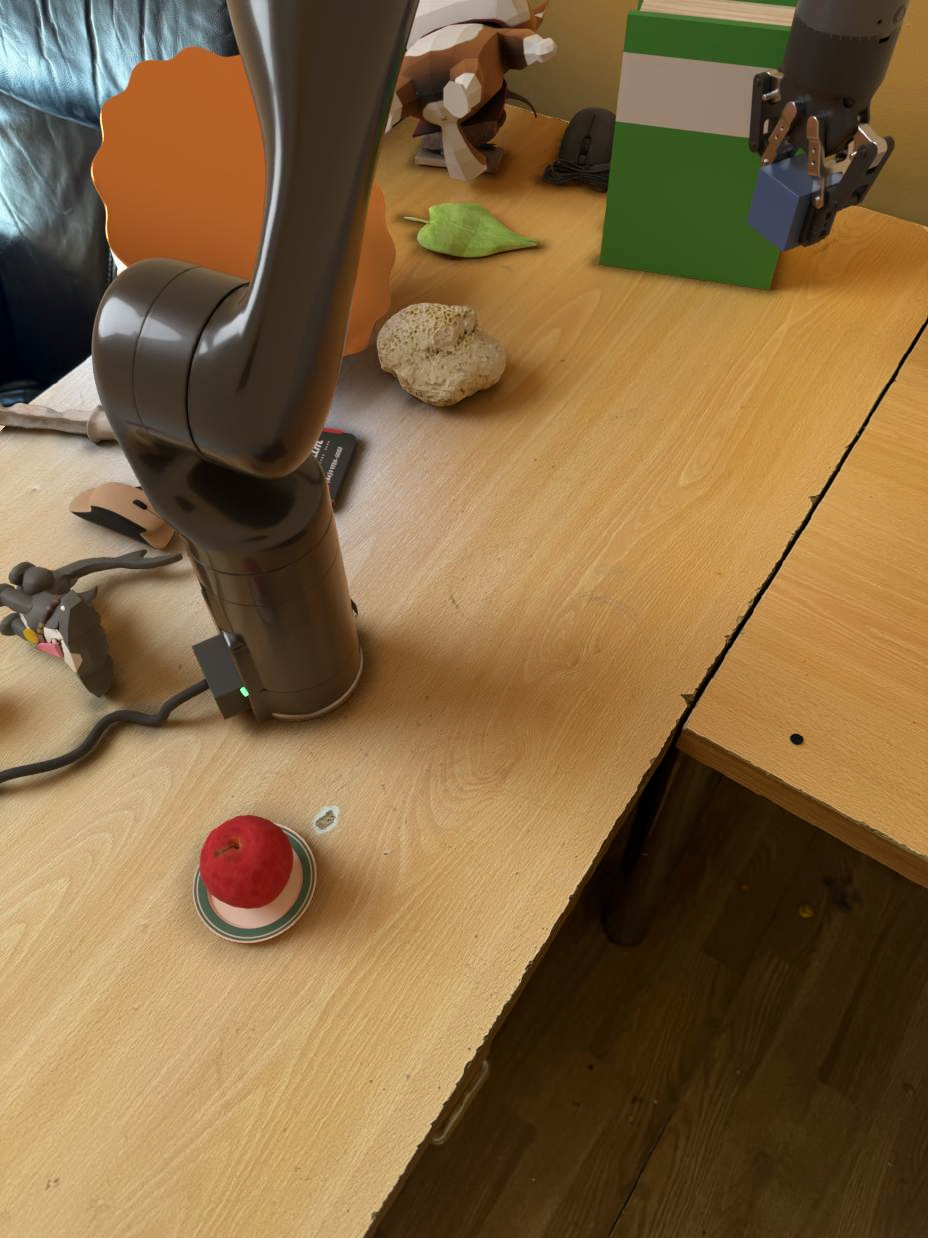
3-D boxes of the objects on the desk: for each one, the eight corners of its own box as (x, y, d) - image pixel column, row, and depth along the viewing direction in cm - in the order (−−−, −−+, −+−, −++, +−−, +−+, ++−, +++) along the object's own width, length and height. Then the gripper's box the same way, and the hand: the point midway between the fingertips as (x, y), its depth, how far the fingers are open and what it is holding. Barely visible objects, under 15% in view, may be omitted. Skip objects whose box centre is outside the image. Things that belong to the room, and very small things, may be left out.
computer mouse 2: (640, 128, 115) (644, 96, 112) (628, 195, 107) (632, 162, 103) (558, 122, 116) (560, 89, 113) (540, 187, 108) (541, 154, 105)
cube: (783, 252, 79) (799, 196, 75) (745, 222, 82) (759, 167, 77) (829, 235, 80) (848, 179, 76) (791, 206, 83) (807, 150, 79)
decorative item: (356, 386, 82) (368, 282, 84) (384, 425, 91) (394, 330, 93) (491, 385, 80) (501, 278, 82) (507, 426, 88) (515, 328, 90)
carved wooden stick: (264, 438, 85) (257, 415, 83) (251, 468, 83) (244, 446, 81) (11, 406, 88) (-2, 384, 86) (-8, 435, 86) (-21, 413, 84)
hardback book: (599, 264, 99) (627, 13, 80) (612, 224, 103) (642, -23, 84) (768, 289, 96) (841, 36, 77) (775, 248, 100) (846, -3, 81)
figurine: (538, 157, 111) (542, 81, 104) (531, 178, 109) (534, 101, 102) (425, 144, 113) (421, 68, 106) (414, 164, 111) (410, 87, 104)
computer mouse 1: (112, 467, 83) (97, 433, 80) (207, 503, 80) (195, 470, 77) (64, 517, 80) (46, 484, 76) (161, 557, 77) (147, 525, 74)
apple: (170, 914, 60) (140, 879, 55) (236, 808, 64) (214, 765, 59) (278, 966, 58) (257, 934, 53) (339, 852, 62) (325, 812, 57)
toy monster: (-88, 531, 62) (22, 571, 59) (112, 529, 79) (207, 560, 75) (-111, 734, 65) (-7, 784, 61) (87, 691, 81) (177, 728, 78)
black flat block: (330, 510, 79) (273, 502, 80) (331, 515, 80) (275, 507, 80) (359, 432, 84) (306, 425, 85) (360, 438, 85) (307, 431, 86)
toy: (287, 49, 93) (391, -24, 113) (350, 231, 105) (434, 137, 125) (509, -10, 84) (579, -78, 104) (551, 197, 96) (607, 101, 116)
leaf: (418, 201, 106) (416, 185, 105) (546, 230, 102) (546, 213, 100) (383, 249, 102) (380, 233, 101) (515, 280, 98) (515, 264, 96)
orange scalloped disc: (358, 74, 89) (270, 160, 103) (55, 20, 71) (-1, 132, 85) (421, 369, 91) (327, 414, 105) (142, 386, 74) (74, 437, 88)
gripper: (745, -19, 69) (701, 197, 83) (881, 62, 62) (808, 284, 76) (824, -41, 71) (769, 174, 85) (965, 34, 64) (879, 256, 78)
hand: (788, 225), depth 81 cm, fingers closed on cube, 5 cm apart
